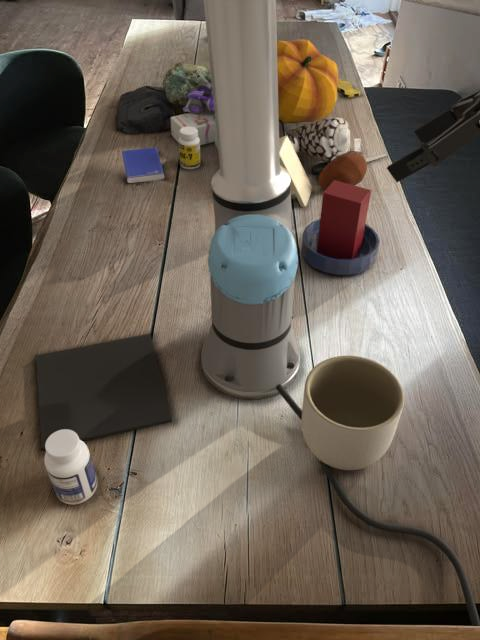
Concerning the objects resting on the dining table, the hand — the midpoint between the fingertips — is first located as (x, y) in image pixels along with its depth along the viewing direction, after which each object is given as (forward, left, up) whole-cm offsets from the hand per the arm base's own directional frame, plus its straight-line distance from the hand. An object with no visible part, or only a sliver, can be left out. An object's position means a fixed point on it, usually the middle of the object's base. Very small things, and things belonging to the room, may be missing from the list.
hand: (406, 155), depth 96 cm
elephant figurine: (+43, +4, -23) cm, 49 cm away
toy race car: (+63, +15, -17) cm, 67 cm away
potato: (+33, -3, -19) cm, 38 cm away
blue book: (+43, +36, -23) cm, 61 cm away
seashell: (+46, -3, -15) cm, 49 cm away
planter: (-33, +22, -24) cm, 46 cm away
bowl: (+7, +6, -23) cm, 25 cm away
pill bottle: (-30, +58, -24) cm, 69 cm away
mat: (-14, +53, -23) cm, 59 cm away
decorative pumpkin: (+58, -1, -16) cm, 60 cm away
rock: (+79, +16, -12) cm, 82 cm away
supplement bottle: (+48, +25, -24) cm, 59 cm away
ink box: (+62, +14, -21) cm, 67 cm away
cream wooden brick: (+32, +12, -13) cm, 36 cm away
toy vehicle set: (+46, -10, -21) cm, 51 cm away
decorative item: (+78, -23, -23) cm, 85 cm away
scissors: (+40, -20, -23) cm, 50 cm away
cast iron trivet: (+77, +30, -23) cm, 86 cm away
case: (+7, +6, -23) cm, 24 cm away
